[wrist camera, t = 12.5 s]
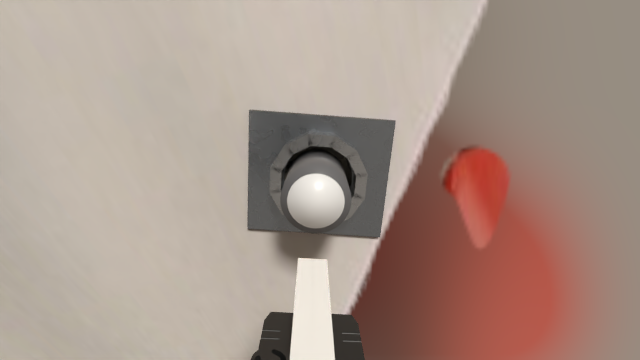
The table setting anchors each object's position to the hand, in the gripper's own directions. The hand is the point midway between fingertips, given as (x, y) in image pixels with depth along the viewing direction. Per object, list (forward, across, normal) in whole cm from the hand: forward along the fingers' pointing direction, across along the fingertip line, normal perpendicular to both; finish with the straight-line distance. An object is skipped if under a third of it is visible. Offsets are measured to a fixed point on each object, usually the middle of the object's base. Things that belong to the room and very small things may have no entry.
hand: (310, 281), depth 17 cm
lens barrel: (+21, 0, 0) cm, 21 cm away
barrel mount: (+22, +1, 0) cm, 22 cm away
